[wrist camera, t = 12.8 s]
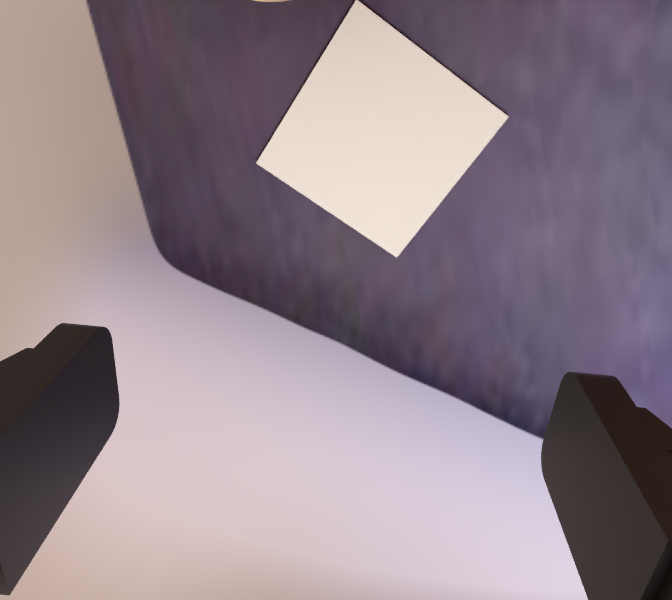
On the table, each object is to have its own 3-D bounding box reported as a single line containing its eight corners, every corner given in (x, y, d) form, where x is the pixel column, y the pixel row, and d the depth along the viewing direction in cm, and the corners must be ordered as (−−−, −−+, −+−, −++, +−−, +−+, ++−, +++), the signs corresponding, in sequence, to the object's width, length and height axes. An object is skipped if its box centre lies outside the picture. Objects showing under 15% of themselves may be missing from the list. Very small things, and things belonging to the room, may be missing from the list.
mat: (507, 115, 40) (508, 116, 40) (396, 255, 45) (396, 257, 45) (356, -1, 38) (356, -1, 37) (257, 161, 43) (256, 163, 42)
